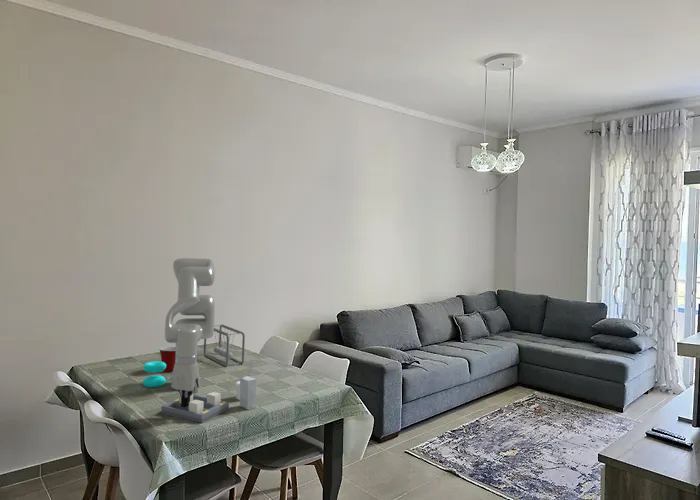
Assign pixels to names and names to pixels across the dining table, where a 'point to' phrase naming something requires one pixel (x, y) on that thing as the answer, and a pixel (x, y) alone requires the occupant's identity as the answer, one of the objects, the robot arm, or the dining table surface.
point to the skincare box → (248, 392)
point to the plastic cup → (168, 358)
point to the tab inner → (214, 398)
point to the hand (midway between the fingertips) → (185, 406)
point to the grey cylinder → (237, 390)
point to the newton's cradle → (223, 351)
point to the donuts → (156, 379)
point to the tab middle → (190, 398)
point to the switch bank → (181, 412)
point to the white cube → (196, 406)
